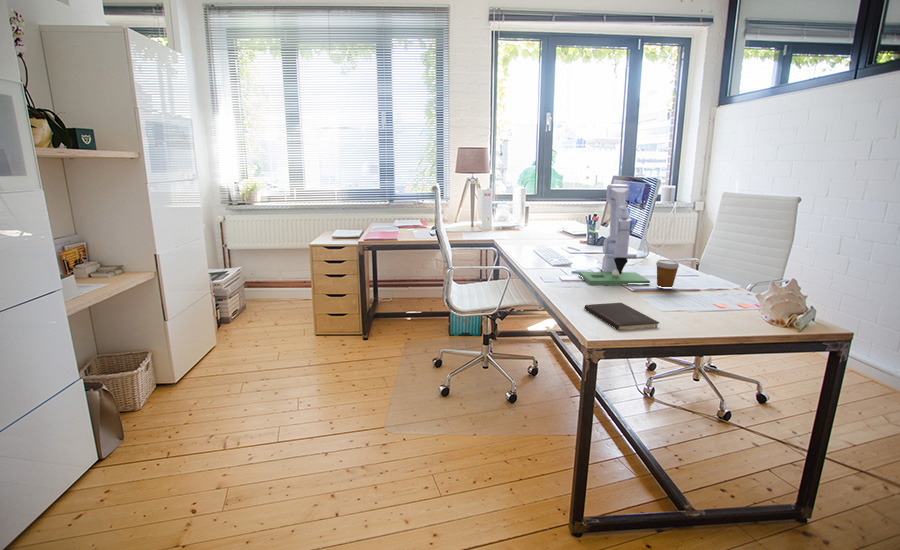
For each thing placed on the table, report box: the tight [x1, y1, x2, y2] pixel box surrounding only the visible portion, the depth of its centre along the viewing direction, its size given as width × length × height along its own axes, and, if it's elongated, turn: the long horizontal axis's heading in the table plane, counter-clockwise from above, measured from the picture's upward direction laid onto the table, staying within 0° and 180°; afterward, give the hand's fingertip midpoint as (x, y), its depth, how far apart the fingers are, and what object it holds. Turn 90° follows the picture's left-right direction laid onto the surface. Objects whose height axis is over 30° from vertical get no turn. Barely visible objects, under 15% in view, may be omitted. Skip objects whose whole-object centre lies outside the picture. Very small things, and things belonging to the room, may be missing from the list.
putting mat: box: [578, 271, 651, 286], centre depth 225 cm, size 16×28×2 cm, turn 93°
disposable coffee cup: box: [655, 259, 680, 288], centre depth 213 cm, size 10×10×12 cm
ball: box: [612, 269, 620, 277], centre depth 224 cm, size 4×4×4 cm
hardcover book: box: [583, 302, 660, 331], centre depth 174 cm, size 16×23×2 cm
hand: (619, 273), depth 224 cm, fingers closed, pressing on ball
